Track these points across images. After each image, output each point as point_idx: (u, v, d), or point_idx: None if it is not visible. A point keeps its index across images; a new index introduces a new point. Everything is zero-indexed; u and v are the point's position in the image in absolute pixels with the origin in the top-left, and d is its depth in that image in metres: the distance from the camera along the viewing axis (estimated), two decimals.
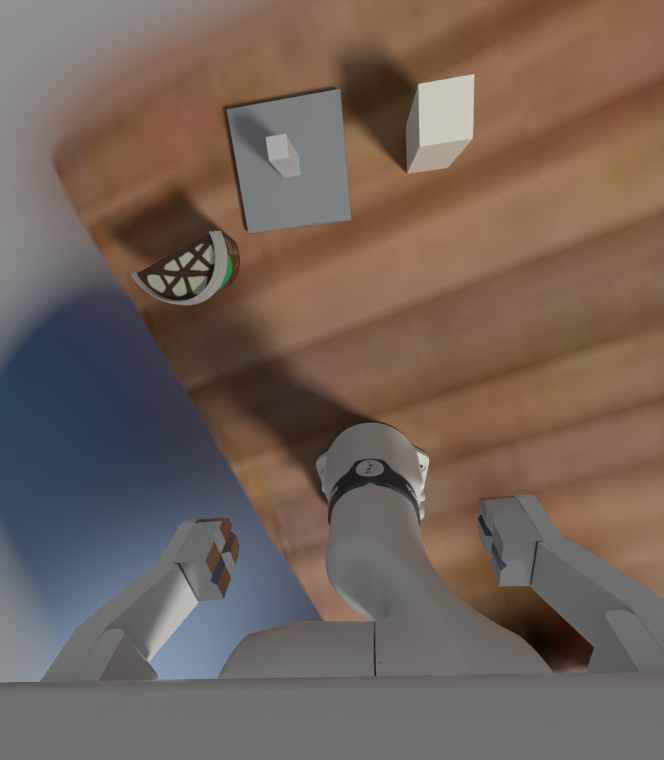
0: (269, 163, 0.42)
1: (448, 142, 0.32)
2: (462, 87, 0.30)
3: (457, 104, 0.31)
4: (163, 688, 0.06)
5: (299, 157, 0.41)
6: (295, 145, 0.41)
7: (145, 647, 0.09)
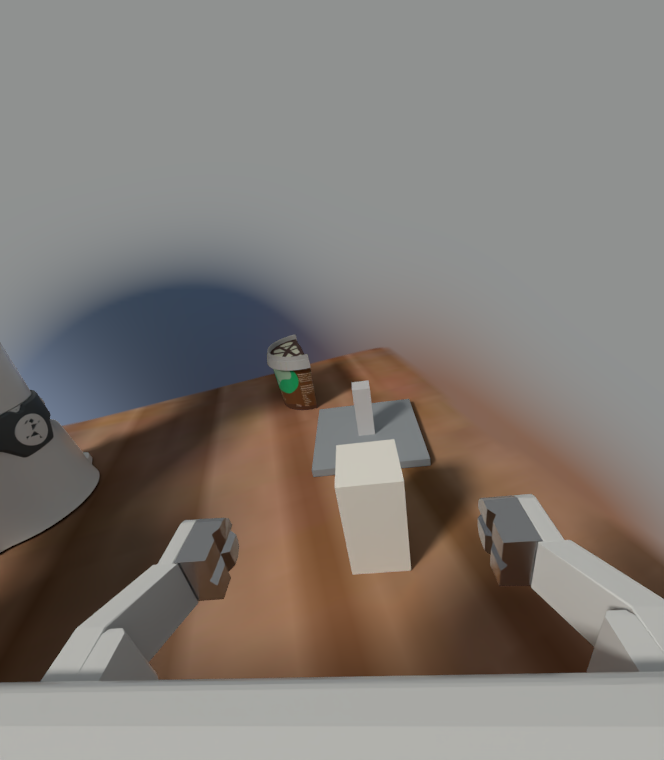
0: None
1: None
2: (390, 472, 0.24)
3: (373, 470, 0.25)
4: (163, 688, 0.06)
5: (372, 434, 0.44)
6: (382, 432, 0.44)
7: (145, 647, 0.09)
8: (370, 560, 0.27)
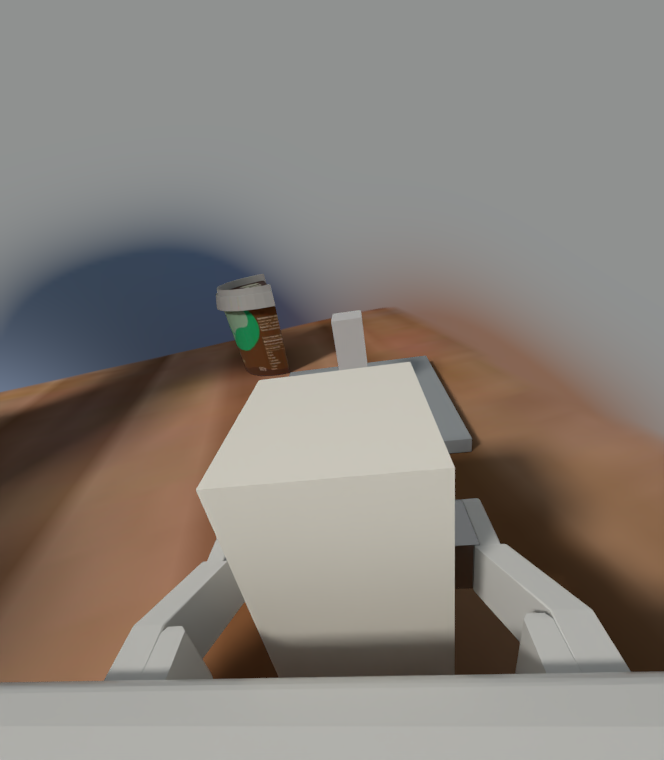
0: None
1: None
2: (400, 438, 0.07)
3: (342, 432, 0.08)
4: (163, 688, 0.06)
5: None
6: None
7: (198, 645, 0.09)
8: None
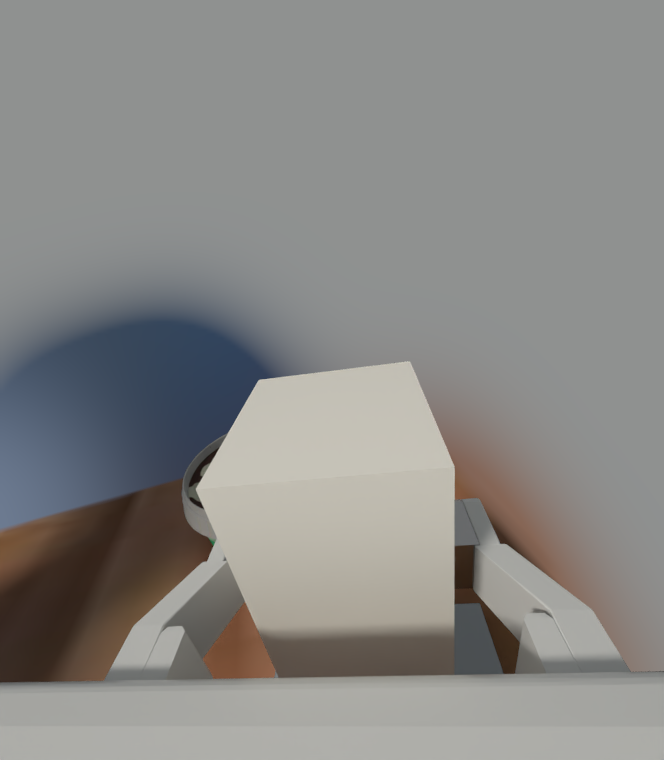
0: None
1: None
2: (399, 438, 0.07)
3: (342, 432, 0.08)
4: (163, 688, 0.06)
5: None
6: None
7: (198, 645, 0.09)
8: None
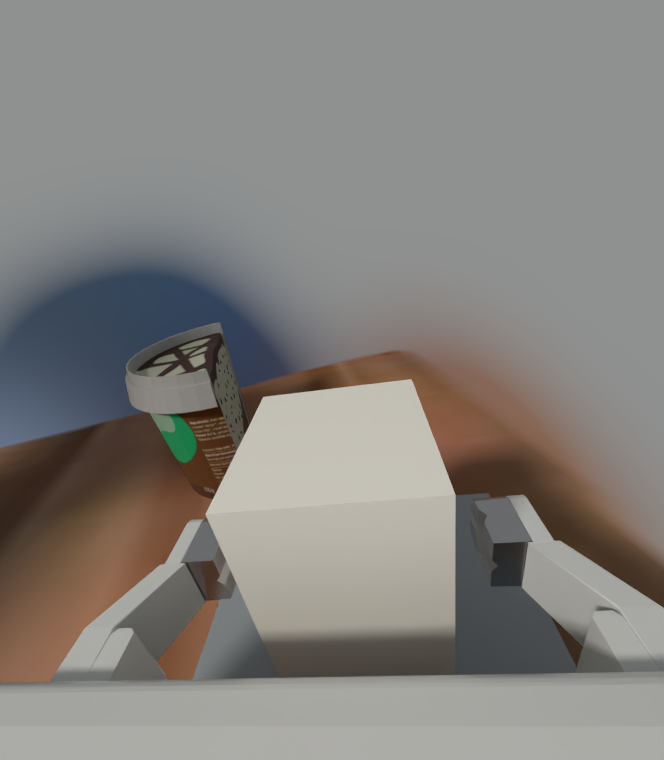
0: None
1: None
2: (402, 462, 0.07)
3: (346, 455, 0.08)
4: (163, 688, 0.06)
5: None
6: None
7: (153, 647, 0.09)
8: None
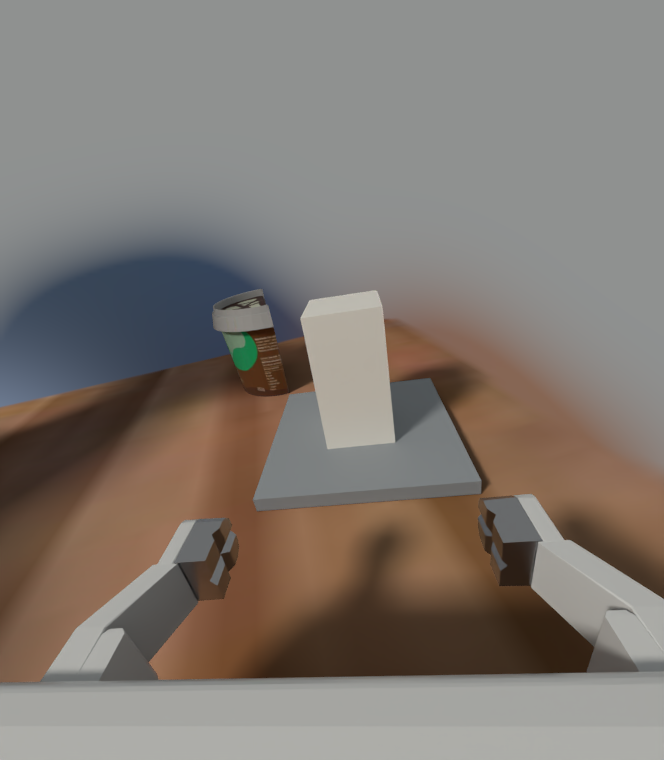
0: None
1: None
2: (367, 304, 0.21)
3: (347, 305, 0.21)
4: (163, 688, 0.06)
5: None
6: None
7: (145, 647, 0.09)
8: (347, 428, 0.23)
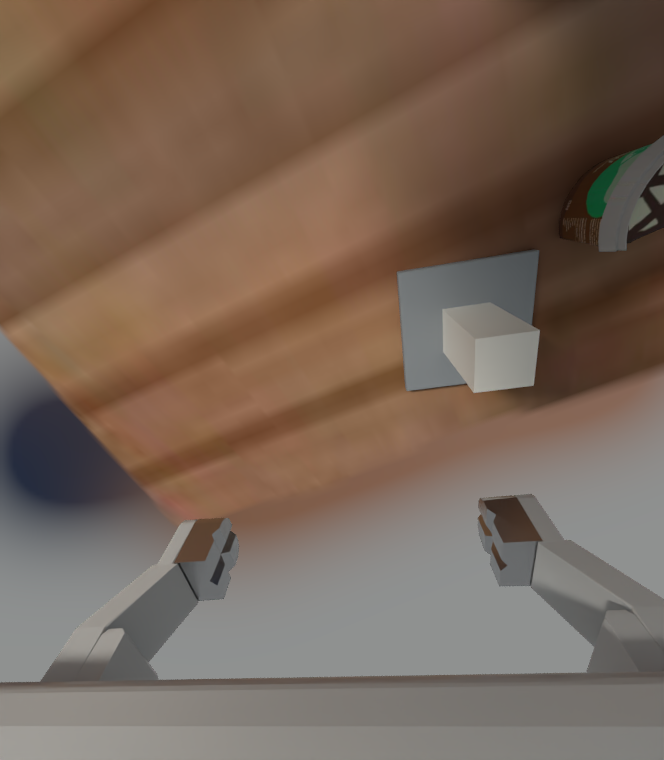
0: None
1: (503, 334, 0.27)
2: (486, 382, 0.28)
3: (492, 369, 0.28)
4: (163, 688, 0.06)
5: None
6: None
7: (145, 647, 0.09)
8: (446, 329, 0.35)
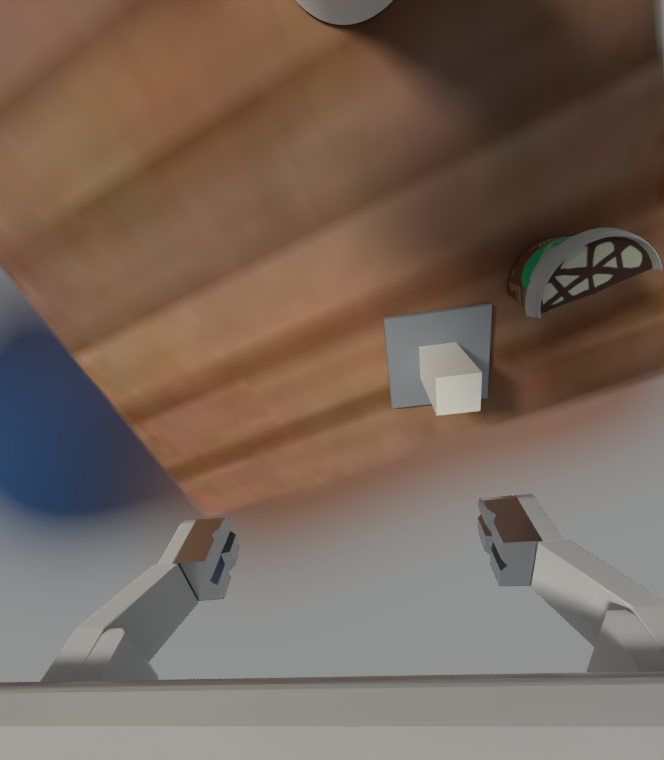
0: None
1: (455, 374, 0.37)
2: (445, 408, 0.38)
3: (449, 398, 0.38)
4: (163, 688, 0.06)
5: None
6: None
7: (145, 647, 0.09)
8: (421, 362, 0.45)
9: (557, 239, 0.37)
